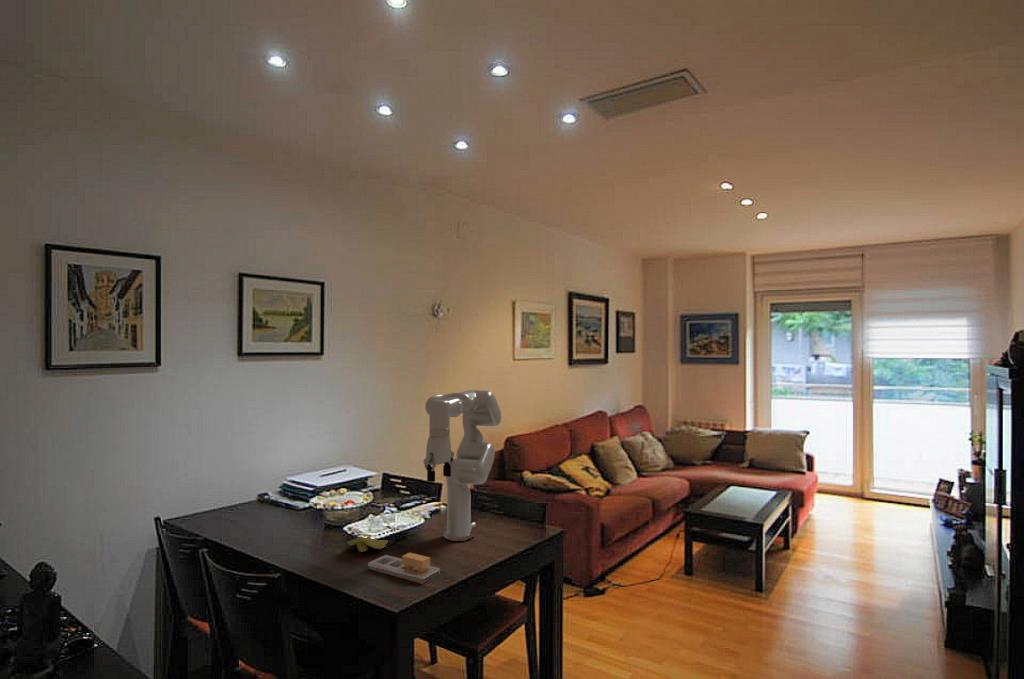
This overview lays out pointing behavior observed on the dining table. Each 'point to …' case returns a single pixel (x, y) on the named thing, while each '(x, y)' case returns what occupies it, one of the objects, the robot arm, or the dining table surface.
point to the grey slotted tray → (400, 567)
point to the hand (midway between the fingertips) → (439, 478)
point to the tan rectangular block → (416, 562)
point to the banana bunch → (368, 543)
